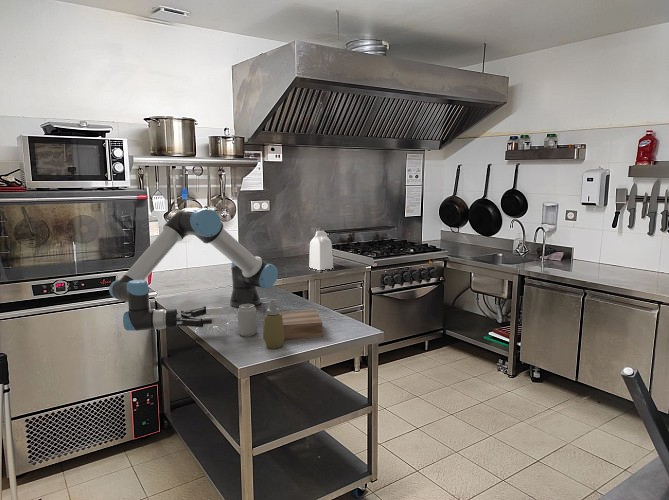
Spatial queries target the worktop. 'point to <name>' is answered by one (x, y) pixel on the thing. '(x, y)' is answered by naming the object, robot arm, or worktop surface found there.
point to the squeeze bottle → (273, 327)
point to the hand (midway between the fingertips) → (221, 315)
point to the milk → (320, 252)
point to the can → (247, 320)
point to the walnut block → (301, 324)
